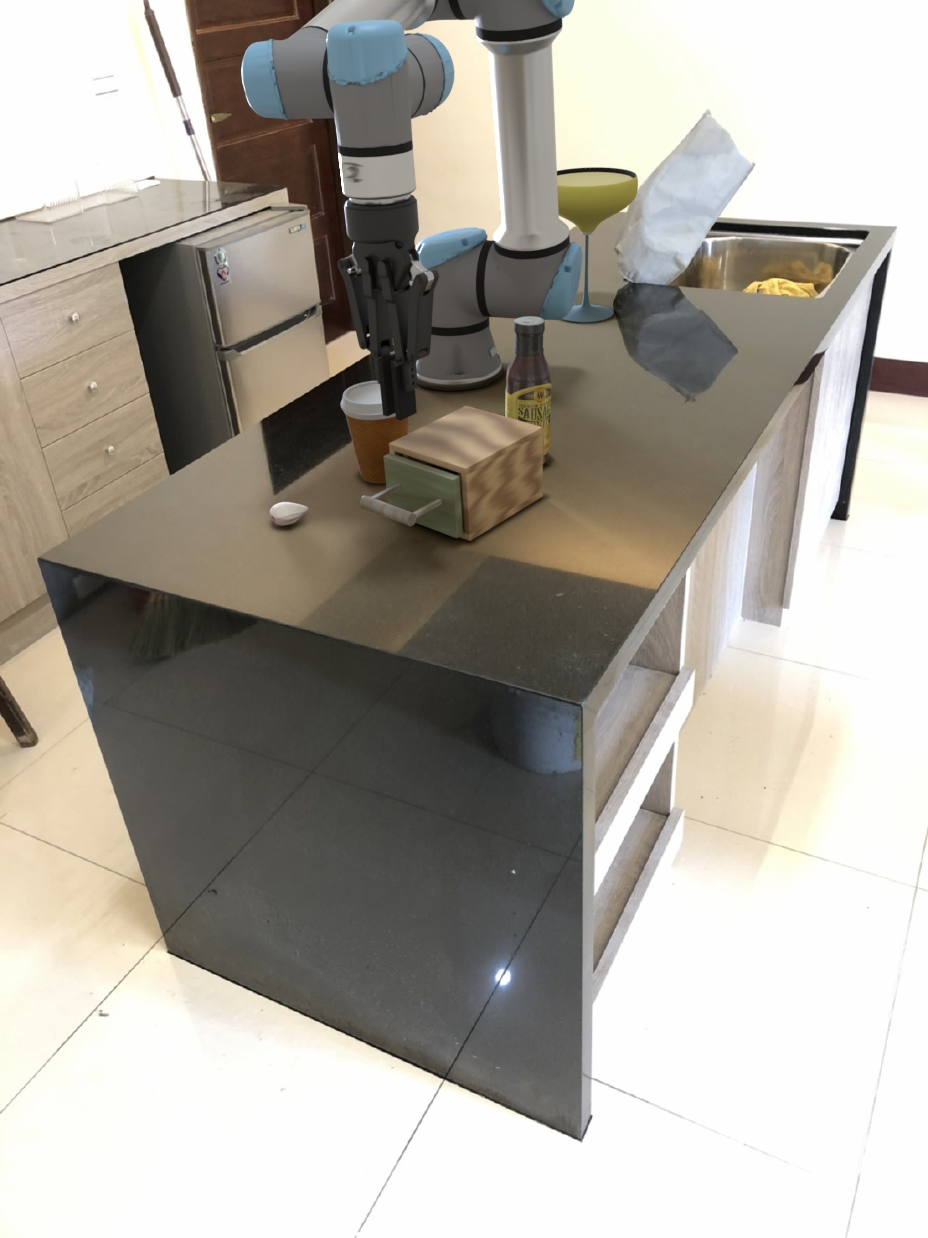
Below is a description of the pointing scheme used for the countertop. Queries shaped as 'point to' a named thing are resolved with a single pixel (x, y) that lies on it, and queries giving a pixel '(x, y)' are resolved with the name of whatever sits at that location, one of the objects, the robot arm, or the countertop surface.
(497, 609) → the countertop surface
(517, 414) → the sauce bottle
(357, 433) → the disposable coffee cup
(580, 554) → the countertop surface
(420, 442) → the cabinet
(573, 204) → the cocktail glass
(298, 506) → the white teardrop piece
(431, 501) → the drawer
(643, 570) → the countertop surface
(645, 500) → the countertop surface
